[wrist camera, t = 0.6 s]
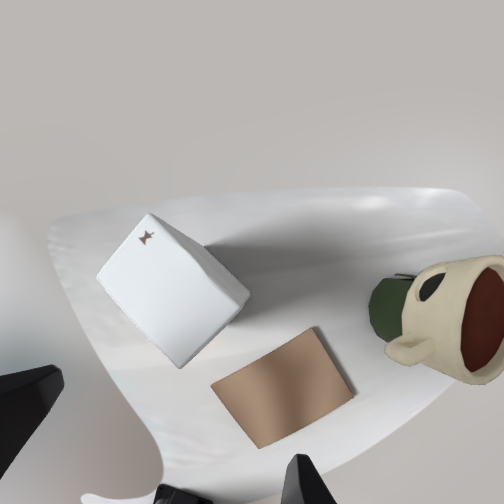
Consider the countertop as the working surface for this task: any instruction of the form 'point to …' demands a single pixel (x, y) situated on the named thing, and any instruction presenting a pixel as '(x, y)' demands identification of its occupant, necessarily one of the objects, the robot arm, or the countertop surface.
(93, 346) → the countertop surface
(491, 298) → the character mug
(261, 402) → the curved brown sheet
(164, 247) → the skincare box
